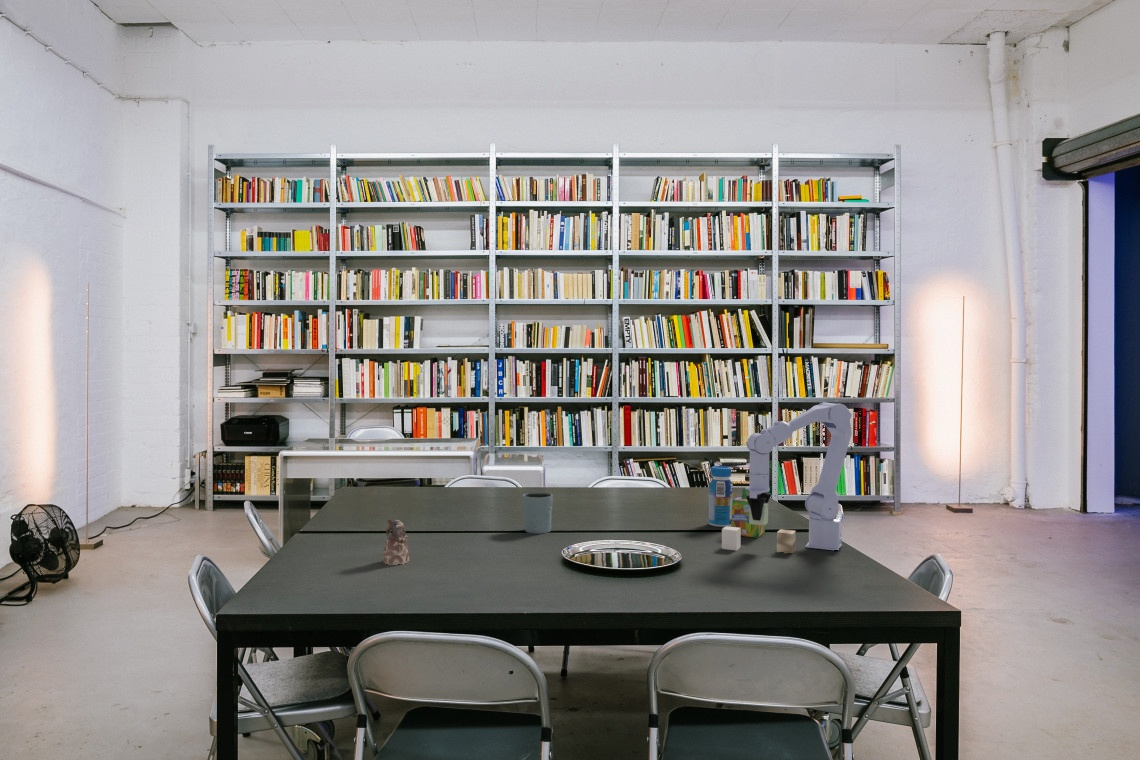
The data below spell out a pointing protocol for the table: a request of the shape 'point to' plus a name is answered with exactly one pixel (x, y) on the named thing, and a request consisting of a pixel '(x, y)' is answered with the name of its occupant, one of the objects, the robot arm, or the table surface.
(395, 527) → the figurine
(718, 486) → the beverage bottle
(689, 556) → the table surface
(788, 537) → the birch block
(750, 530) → the chalk box
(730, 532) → the off-white block
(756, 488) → the robot arm
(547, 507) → the blue-gray cup
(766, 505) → the sage green block
